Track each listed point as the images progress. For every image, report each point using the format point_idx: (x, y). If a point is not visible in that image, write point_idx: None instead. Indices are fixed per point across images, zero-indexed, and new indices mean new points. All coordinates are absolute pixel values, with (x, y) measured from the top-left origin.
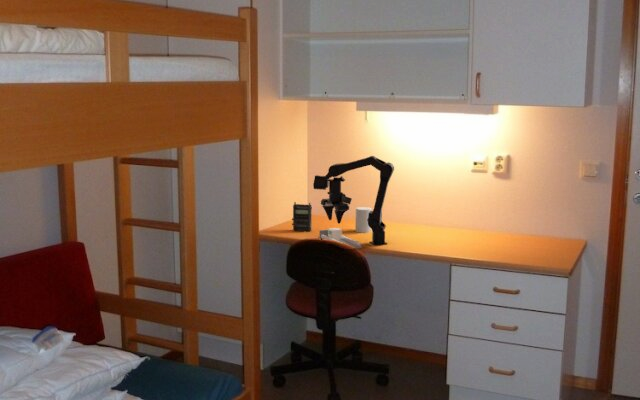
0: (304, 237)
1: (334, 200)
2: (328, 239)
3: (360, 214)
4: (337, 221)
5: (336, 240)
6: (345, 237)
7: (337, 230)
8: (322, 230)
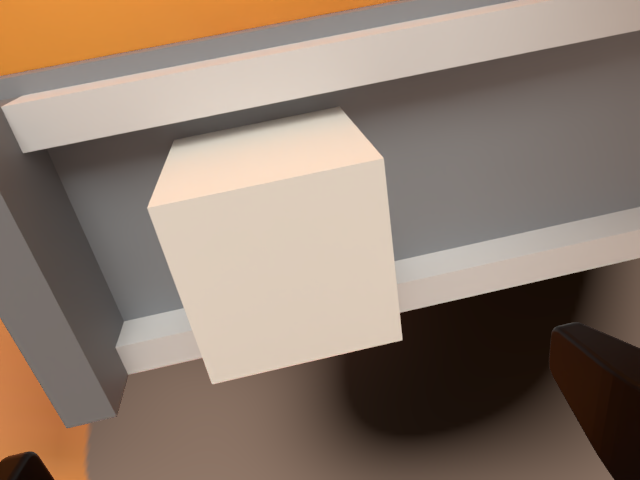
0: None
1: None
2: None
3: None
4: (593, 426)
5: (542, 260)
6: (424, 70)
7: (390, 250)
8: (66, 392)
